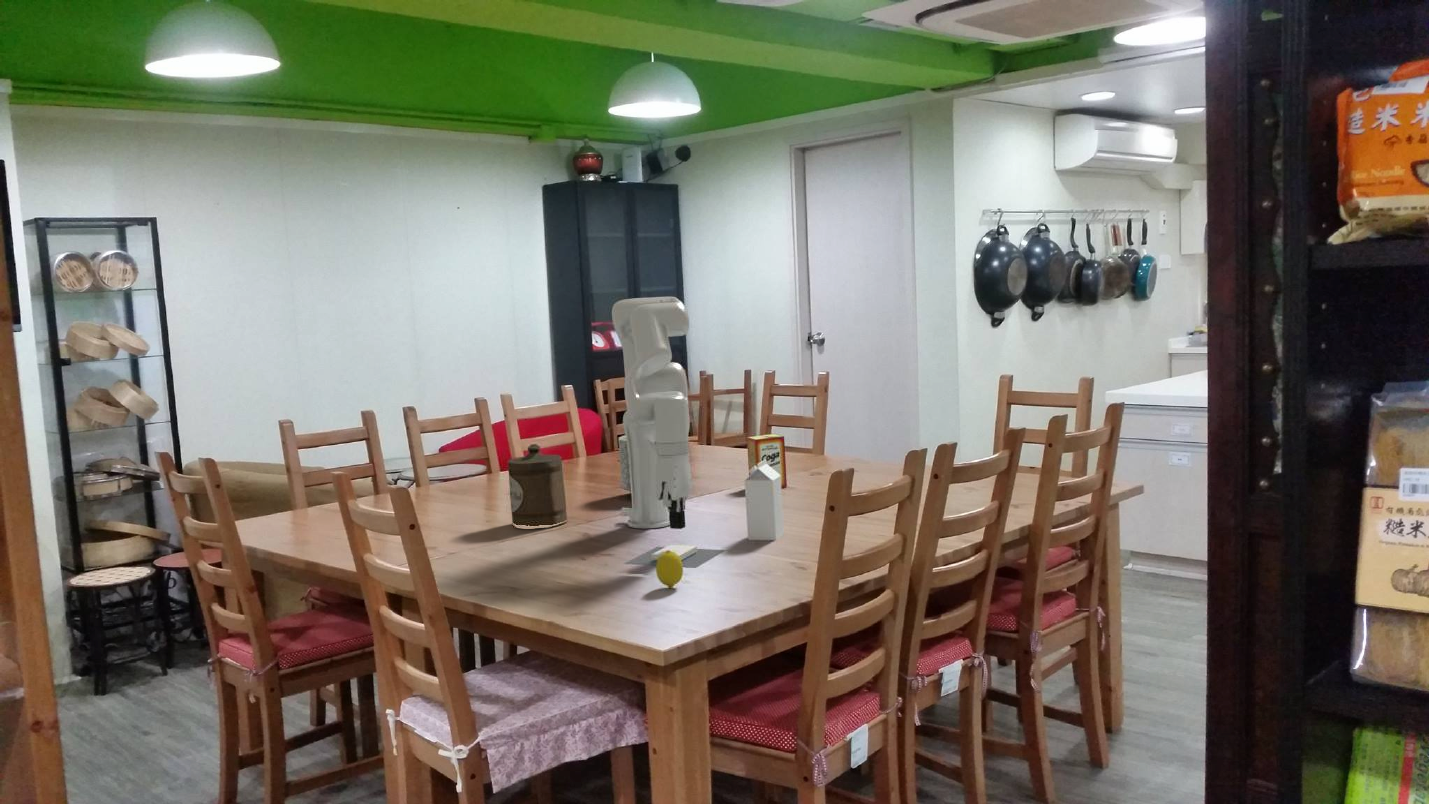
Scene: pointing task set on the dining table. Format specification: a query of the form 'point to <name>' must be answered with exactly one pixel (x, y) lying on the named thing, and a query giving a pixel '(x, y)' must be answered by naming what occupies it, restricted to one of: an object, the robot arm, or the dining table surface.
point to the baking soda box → (768, 453)
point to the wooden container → (537, 489)
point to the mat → (690, 562)
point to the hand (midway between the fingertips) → (677, 527)
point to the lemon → (669, 568)
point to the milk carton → (764, 503)
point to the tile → (676, 551)
